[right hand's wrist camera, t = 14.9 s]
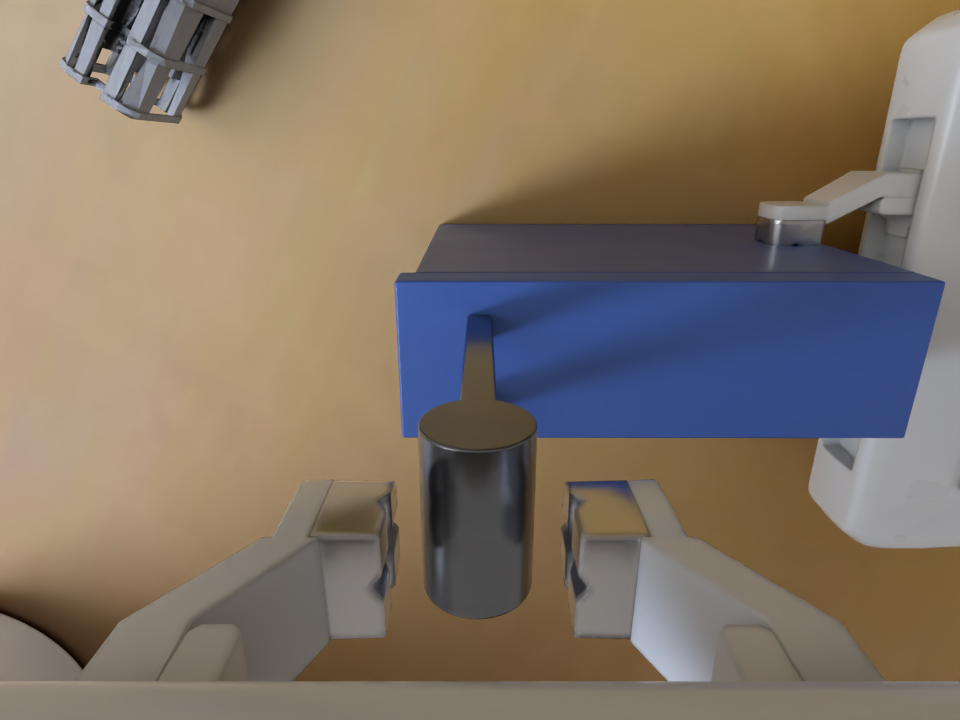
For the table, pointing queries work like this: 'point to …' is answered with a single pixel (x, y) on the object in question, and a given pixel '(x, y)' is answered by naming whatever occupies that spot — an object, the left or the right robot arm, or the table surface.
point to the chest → (629, 250)
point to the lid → (628, 385)
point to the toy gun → (147, 51)
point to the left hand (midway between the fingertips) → (749, 305)
